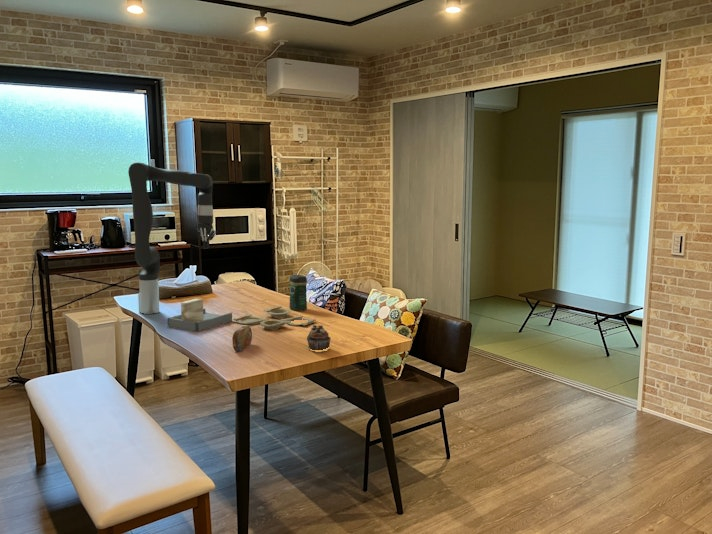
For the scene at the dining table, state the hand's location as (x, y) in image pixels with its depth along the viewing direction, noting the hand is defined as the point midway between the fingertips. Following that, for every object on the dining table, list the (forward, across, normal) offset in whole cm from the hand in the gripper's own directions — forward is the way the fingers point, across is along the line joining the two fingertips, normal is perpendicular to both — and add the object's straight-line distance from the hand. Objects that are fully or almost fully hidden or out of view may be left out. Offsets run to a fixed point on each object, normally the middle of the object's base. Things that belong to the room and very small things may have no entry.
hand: (206, 248), depth 291 cm
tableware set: (+34, +42, +1) cm, 54 cm away
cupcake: (+33, +84, -27) cm, 94 cm away
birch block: (+31, +14, -26) cm, 43 cm away
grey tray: (+33, +14, -20) cm, 41 cm away
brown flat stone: (+33, +56, -41) cm, 77 cm away
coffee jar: (+33, +36, +30) cm, 57 cm away
